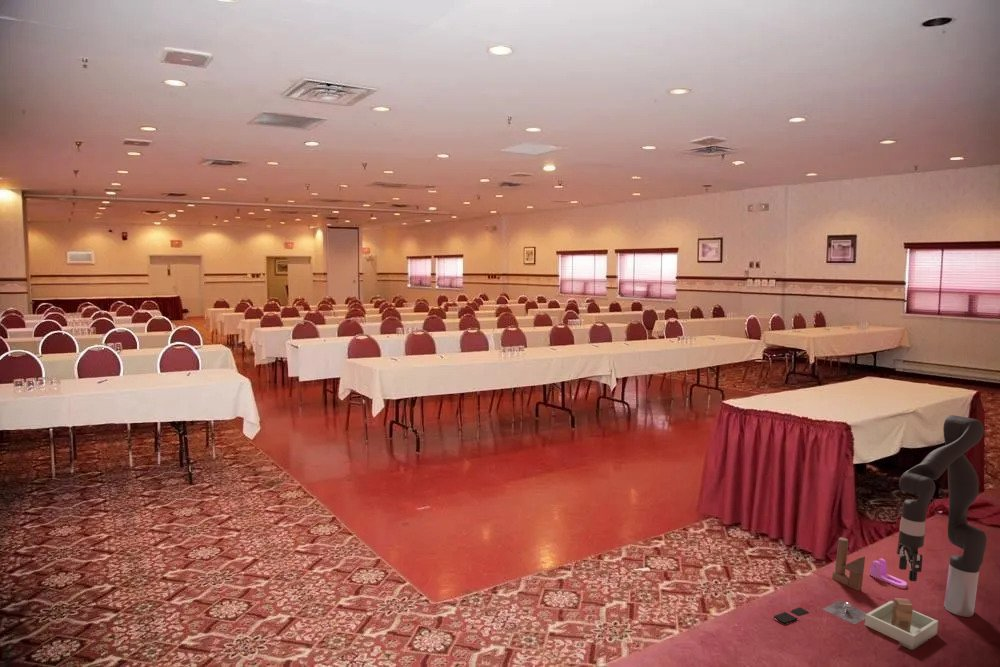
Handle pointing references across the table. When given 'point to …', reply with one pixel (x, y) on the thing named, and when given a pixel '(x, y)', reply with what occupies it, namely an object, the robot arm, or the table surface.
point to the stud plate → (846, 612)
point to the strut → (902, 614)
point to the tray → (918, 634)
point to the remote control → (788, 618)
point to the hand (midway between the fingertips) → (907, 574)
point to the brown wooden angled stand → (848, 567)
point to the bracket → (884, 573)
